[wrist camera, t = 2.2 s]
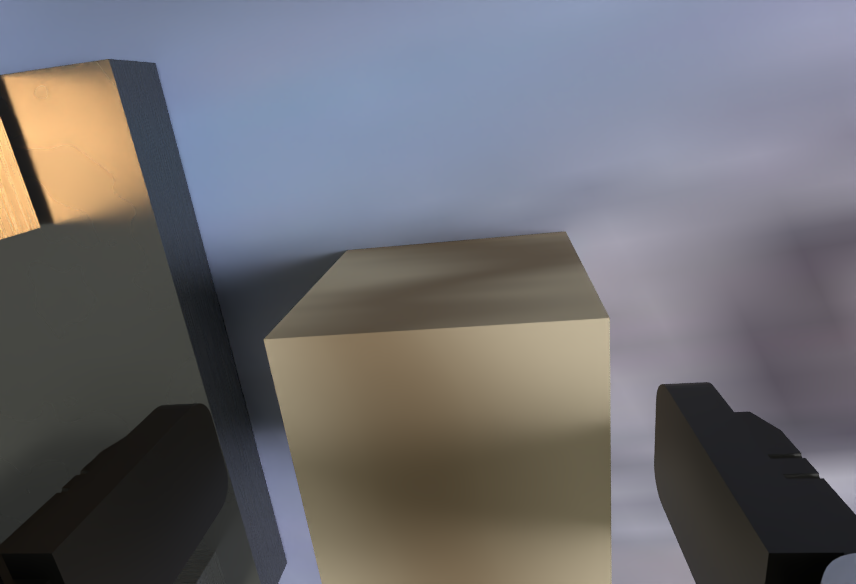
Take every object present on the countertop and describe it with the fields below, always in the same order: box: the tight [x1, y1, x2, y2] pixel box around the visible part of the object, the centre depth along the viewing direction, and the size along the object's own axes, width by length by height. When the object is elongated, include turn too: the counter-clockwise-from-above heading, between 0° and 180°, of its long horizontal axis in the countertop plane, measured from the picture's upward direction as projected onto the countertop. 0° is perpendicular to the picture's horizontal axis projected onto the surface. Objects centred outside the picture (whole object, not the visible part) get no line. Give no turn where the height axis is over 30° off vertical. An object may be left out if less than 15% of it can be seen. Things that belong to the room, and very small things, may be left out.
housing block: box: [263, 232, 611, 584], centre depth 11 cm, size 5×5×5 cm
